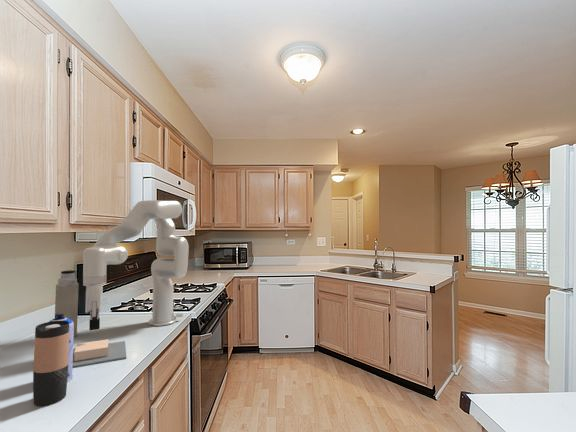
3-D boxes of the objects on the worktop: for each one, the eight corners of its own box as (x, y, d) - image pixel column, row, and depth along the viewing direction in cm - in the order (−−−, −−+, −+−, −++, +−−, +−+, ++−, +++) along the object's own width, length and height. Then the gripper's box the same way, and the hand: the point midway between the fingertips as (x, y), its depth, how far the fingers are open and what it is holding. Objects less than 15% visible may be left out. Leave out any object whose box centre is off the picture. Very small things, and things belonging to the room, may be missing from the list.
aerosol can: (33, 386, 92) (36, 317, 93) (55, 373, 100) (57, 310, 101) (59, 387, 92) (62, 317, 92) (78, 374, 100) (80, 310, 100)
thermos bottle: (50, 337, 132) (52, 271, 134) (71, 332, 139) (73, 269, 140) (59, 341, 128) (61, 272, 129) (80, 335, 135) (82, 270, 136)
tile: (108, 339, 120) (108, 347, 113) (108, 347, 120) (107, 356, 112) (77, 343, 115) (74, 352, 108) (76, 352, 115) (74, 361, 108)
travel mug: (62, 388, 91) (64, 318, 91) (71, 398, 86) (73, 324, 87) (28, 400, 85) (31, 324, 86) (36, 410, 80) (39, 330, 81)
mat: (124, 342, 128) (125, 340, 128) (126, 358, 112) (126, 356, 112) (58, 352, 117) (58, 350, 117) (49, 371, 101) (49, 369, 101)
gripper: (84, 278, 123) (84, 325, 123) (81, 284, 110) (81, 337, 110) (106, 276, 127) (106, 322, 126) (106, 282, 114) (105, 333, 113)
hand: (94, 329), depth 118 cm, fingers closed
